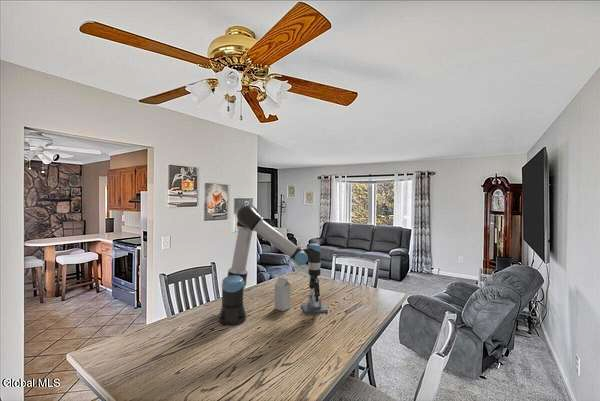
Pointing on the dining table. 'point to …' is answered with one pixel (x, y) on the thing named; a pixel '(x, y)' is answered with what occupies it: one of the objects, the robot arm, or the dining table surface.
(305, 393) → the dining table surface
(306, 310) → the shaft stand
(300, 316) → the dining table surface
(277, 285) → the milk carton
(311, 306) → the grey square sleeve
